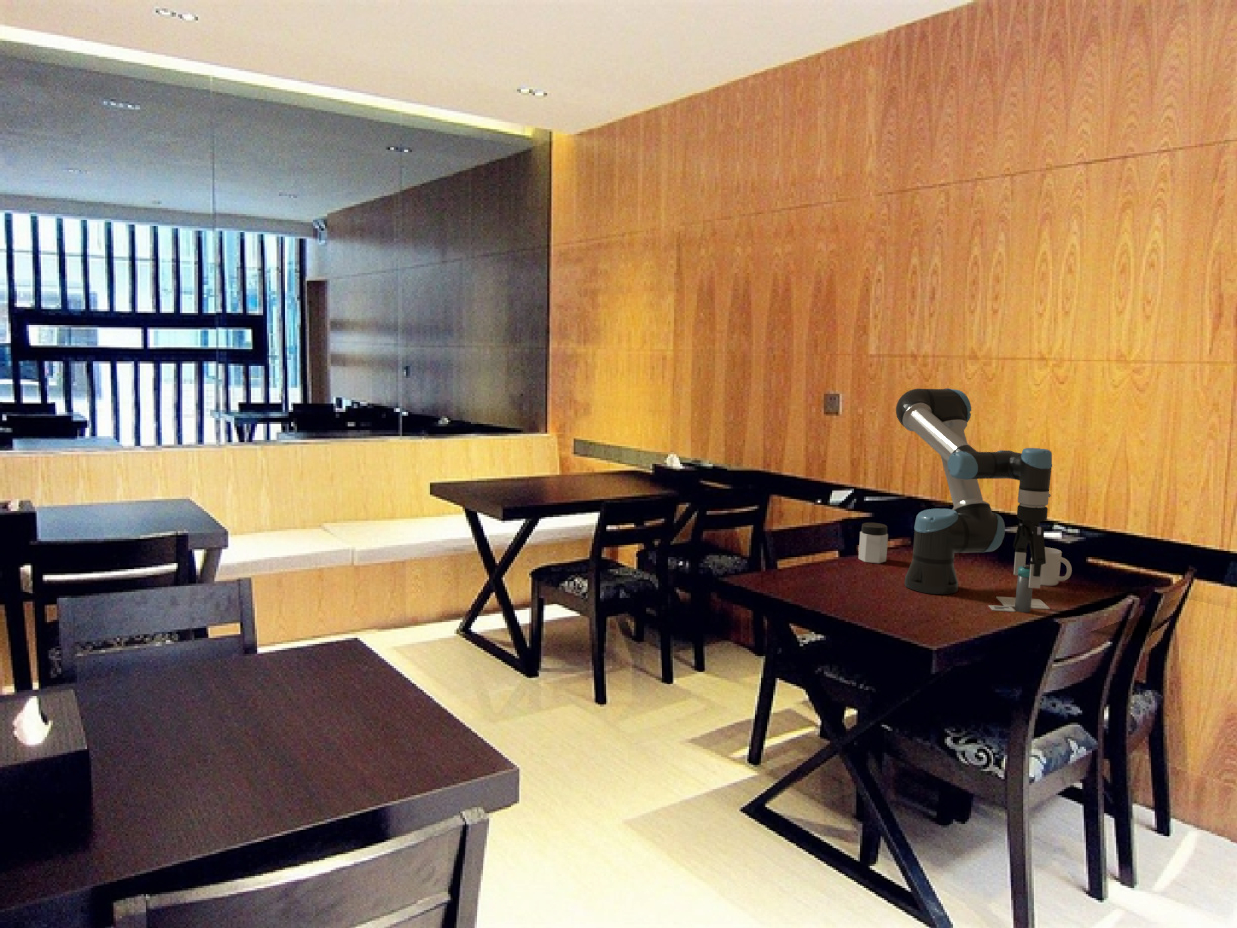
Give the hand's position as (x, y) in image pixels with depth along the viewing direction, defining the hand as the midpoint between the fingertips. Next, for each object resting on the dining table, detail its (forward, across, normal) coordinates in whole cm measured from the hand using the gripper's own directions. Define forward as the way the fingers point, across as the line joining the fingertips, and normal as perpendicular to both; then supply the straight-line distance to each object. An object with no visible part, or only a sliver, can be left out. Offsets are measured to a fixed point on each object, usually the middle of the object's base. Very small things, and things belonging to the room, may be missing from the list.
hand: (1026, 581), depth 247 cm
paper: (+8, +8, -2) cm, 11 cm away
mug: (+8, +32, -17) cm, 37 cm away
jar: (+8, +49, +34) cm, 60 cm away
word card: (+8, +1, +6) cm, 10 cm away
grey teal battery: (+8, +1, 0) cm, 8 cm away
